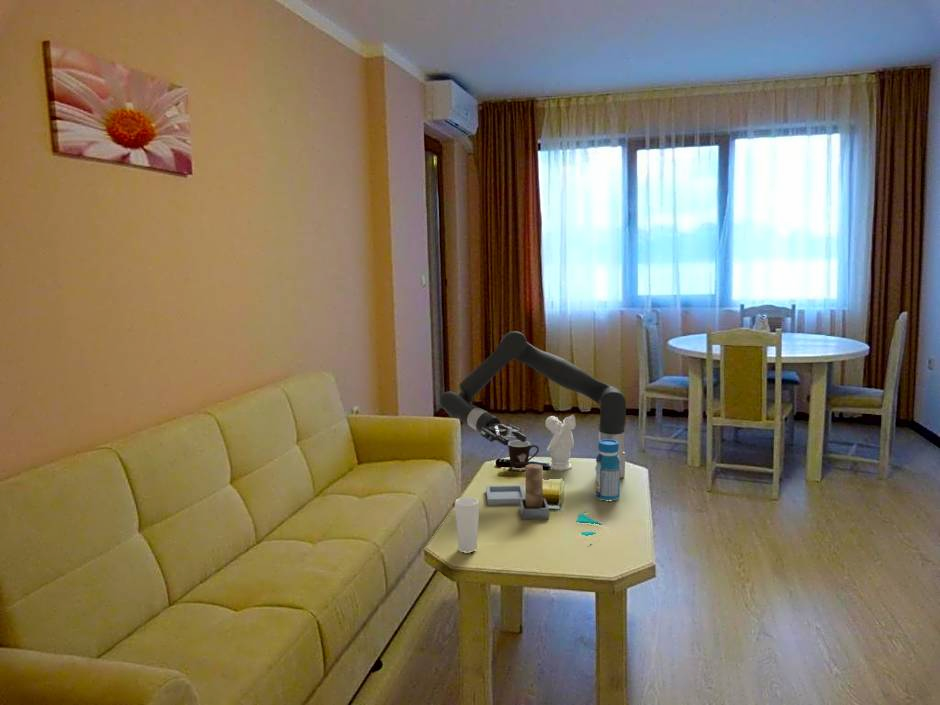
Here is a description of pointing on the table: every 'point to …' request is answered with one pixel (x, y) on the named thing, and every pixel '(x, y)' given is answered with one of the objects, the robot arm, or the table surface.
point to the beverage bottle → (608, 470)
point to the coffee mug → (520, 453)
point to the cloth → (586, 519)
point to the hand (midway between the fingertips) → (516, 441)
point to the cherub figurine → (561, 441)
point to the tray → (504, 494)
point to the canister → (533, 486)
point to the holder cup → (533, 511)
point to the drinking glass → (467, 522)
